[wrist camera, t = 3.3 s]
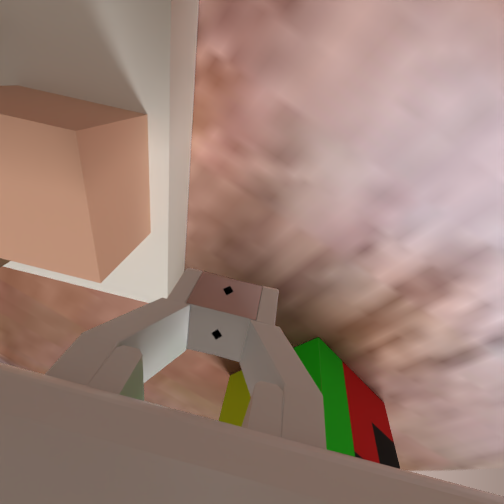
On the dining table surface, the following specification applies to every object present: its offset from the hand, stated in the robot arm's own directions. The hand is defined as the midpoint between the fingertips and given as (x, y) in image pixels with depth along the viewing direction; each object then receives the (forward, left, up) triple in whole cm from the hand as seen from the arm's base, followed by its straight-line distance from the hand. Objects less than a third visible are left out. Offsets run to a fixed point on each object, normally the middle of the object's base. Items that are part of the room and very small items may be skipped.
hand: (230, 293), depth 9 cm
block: (-1, -9, -6) cm, 10 cm away
